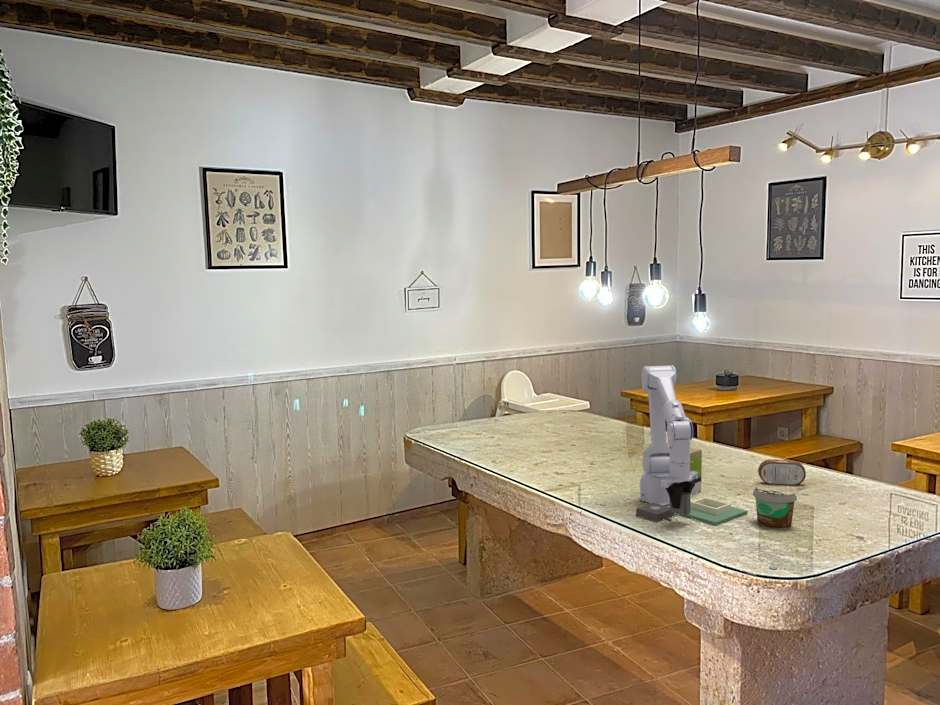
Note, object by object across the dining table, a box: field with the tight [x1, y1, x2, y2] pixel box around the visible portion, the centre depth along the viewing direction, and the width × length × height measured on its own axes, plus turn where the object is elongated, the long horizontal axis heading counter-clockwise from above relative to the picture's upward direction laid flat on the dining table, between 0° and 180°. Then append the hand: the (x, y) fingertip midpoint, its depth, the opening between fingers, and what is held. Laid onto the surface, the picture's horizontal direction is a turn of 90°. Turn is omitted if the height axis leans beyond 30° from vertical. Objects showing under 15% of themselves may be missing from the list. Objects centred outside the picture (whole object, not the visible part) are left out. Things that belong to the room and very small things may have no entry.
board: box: [683, 496, 748, 527], centre depth 224 cm, size 16×16×3 cm
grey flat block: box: [635, 503, 675, 523], centre depth 222 cm, size 10×8×3 cm
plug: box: [668, 492, 692, 517], centre depth 215 cm, size 6×3×6 cm, turn 36°
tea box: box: [651, 442, 703, 496], centre depth 248 cm, size 15×10×15 cm, turn 40°
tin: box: [757, 459, 807, 486], centre depth 251 cm, size 15×3×8 cm, turn 74°
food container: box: [752, 485, 798, 529], centre depth 212 cm, size 12×6×10 cm, turn 44°
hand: (679, 506), depth 215 cm, fingers closed on plug, 3 cm apart
